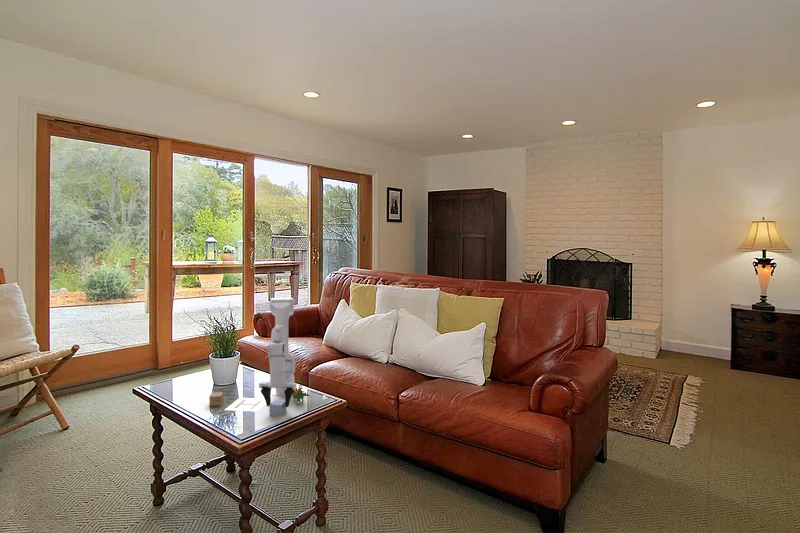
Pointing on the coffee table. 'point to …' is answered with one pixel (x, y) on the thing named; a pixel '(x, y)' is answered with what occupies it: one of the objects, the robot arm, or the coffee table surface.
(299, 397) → the figurine
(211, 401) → the walnut block
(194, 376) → the coffee table surface
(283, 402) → the blue cube
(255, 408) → the letter mat
